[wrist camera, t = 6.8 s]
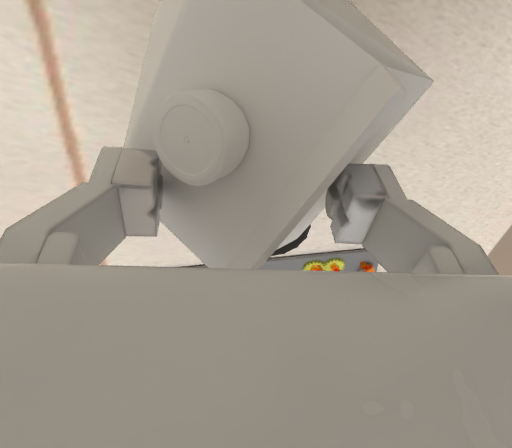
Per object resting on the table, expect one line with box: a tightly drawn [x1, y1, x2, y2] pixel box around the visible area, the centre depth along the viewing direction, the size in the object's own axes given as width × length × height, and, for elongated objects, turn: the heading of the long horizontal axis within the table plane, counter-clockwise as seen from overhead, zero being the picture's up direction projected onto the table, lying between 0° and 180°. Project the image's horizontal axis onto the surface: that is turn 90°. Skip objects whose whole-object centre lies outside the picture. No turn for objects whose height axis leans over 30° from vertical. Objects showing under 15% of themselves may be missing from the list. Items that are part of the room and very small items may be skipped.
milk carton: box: [123, 0, 434, 269], centre depth 15 cm, size 7×7×19 cm
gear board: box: [187, 249, 378, 272], centre depth 58 cm, size 45×2×19 cm
